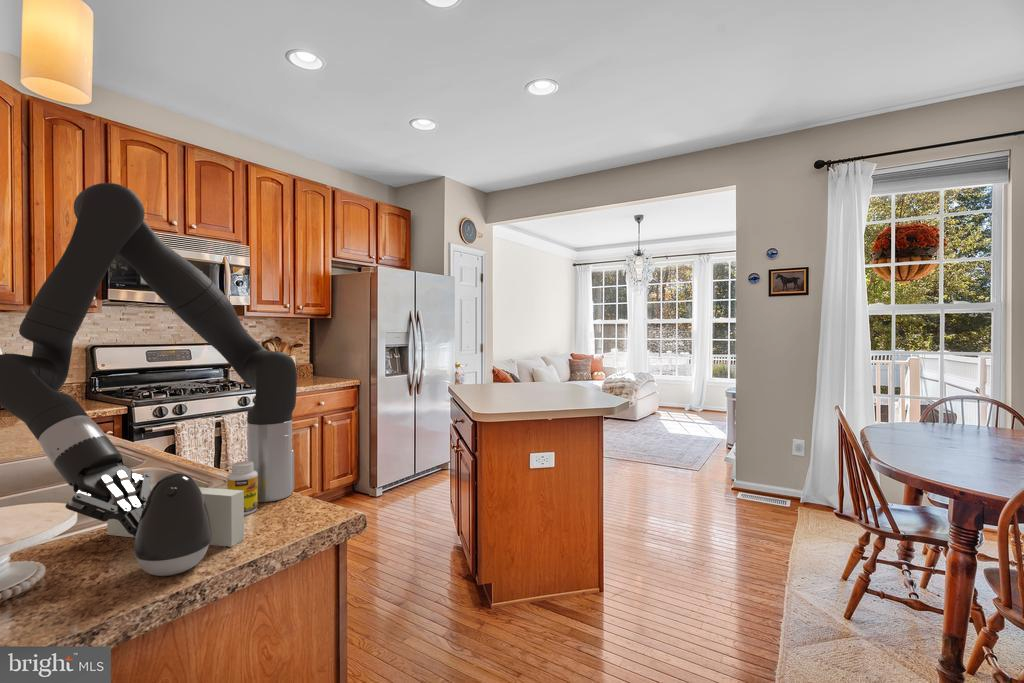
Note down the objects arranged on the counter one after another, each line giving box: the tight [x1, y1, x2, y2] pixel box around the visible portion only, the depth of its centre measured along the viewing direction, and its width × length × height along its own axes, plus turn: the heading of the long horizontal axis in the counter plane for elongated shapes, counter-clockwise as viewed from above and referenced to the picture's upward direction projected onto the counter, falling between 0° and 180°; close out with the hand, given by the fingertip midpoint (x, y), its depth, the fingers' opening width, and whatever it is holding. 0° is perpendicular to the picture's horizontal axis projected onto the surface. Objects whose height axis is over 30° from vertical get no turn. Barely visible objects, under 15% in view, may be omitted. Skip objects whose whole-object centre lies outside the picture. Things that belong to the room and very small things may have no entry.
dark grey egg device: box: [133, 472, 212, 577], centre depth 78 cm, size 10×10×15 cm
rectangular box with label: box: [106, 483, 245, 548], centre depth 89 cm, size 3×26×9 cm, turn 80°
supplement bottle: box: [226, 460, 258, 516], centre depth 102 cm, size 6×6×10 cm
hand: (143, 531), depth 78 cm, fingers closed
